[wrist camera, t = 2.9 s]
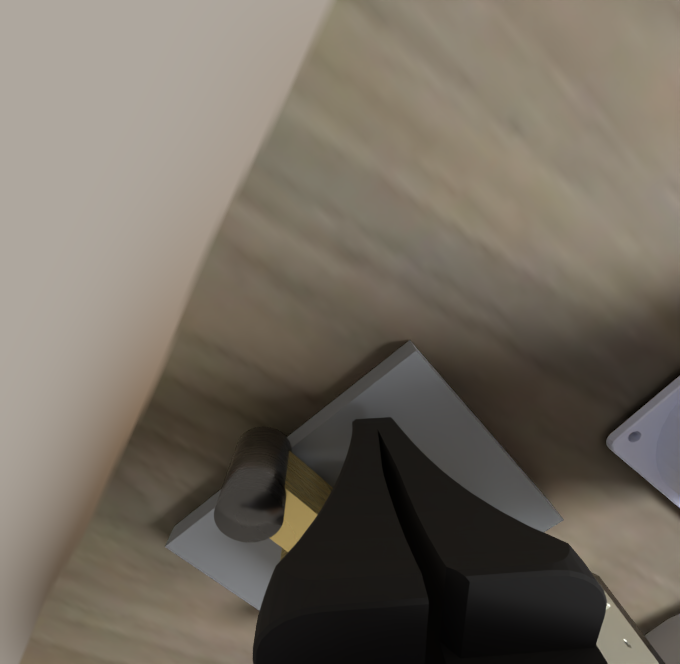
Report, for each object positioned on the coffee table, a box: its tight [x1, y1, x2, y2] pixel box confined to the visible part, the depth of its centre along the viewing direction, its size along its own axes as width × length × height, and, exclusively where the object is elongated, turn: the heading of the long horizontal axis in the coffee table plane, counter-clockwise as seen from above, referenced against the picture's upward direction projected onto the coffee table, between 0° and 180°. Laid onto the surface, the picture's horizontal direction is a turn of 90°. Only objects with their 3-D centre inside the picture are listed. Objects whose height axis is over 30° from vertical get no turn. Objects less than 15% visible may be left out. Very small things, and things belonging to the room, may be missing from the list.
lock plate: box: [165, 340, 563, 611], centre depth 14 cm, size 13×10×4 cm
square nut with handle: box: [214, 427, 333, 561], centre depth 13 cm, size 5×10×3 cm, turn 41°
